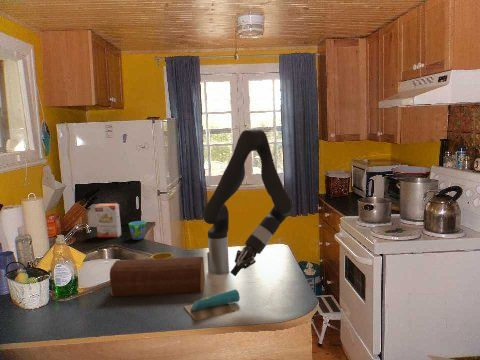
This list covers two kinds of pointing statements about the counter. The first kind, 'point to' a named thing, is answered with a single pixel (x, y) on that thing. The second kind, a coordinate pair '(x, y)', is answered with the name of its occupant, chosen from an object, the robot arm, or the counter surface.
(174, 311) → the counter surface
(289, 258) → the counter surface
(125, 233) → the counter surface
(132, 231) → the snack cup
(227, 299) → the tube
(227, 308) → the cork mat
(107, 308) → the counter surface
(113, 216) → the cracker box
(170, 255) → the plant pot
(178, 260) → the bread
